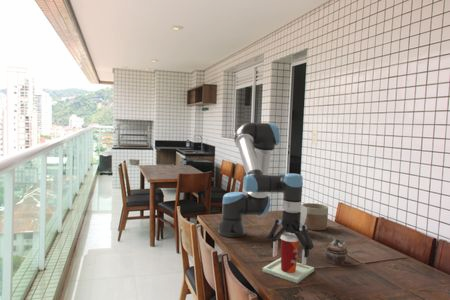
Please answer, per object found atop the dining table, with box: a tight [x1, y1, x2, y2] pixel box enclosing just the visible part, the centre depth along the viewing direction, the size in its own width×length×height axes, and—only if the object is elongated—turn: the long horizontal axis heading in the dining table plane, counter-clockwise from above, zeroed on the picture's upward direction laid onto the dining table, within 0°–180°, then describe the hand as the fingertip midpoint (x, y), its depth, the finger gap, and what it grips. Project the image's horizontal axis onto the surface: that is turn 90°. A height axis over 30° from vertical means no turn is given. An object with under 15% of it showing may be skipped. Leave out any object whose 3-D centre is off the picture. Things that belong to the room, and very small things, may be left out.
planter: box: [301, 202, 329, 232], centre depth 214 cm, size 16×16×14 cm
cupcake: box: [325, 238, 348, 266], centre depth 158 cm, size 10×10×10 cm
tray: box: [262, 257, 315, 284], centre depth 144 cm, size 16×16×2 cm
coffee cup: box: [279, 232, 300, 273], centre depth 144 cm, size 8×8×15 cm
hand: (288, 260), depth 144 cm, fingers open, 13 cm apart
